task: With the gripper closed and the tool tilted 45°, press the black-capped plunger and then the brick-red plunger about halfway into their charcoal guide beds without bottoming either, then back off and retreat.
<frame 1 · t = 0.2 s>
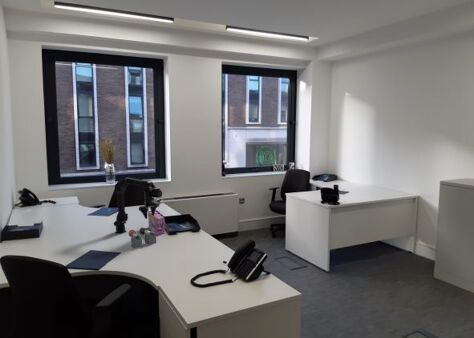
hand: (149, 217, 276), 15 cm above the table, tool pointing down, fingers open, 9 cm apart
bed B: (133, 243, 261), on the table
gum box: (156, 230, 292), on the table
bed A: (143, 240, 267), on the table
black plunger: (145, 232, 264), point 7 cm above the table, slide at 0.0 cm
red plunger: (133, 234, 258), point 7 cm above the table, slide at 0.0 cm
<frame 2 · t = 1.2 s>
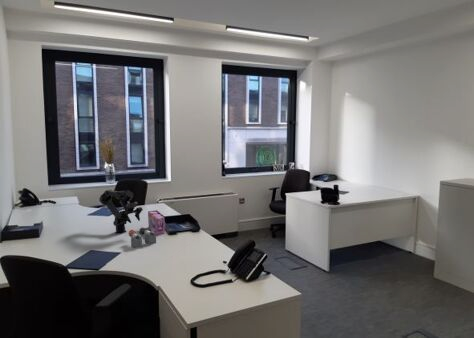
hand: (135, 221, 272), 12 cm above the table, tool tilted 45°, fingers open, 7 cm apart
nothing on the table moved.
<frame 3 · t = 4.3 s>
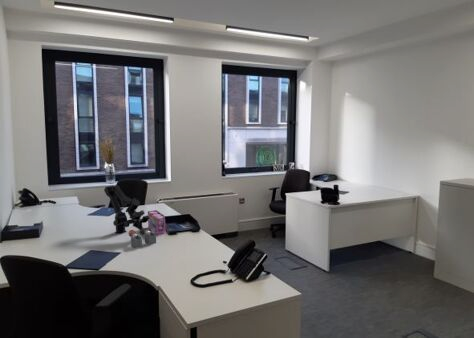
hand: (142, 230, 267), 7 cm above the table, tool tilted 45°, fingers closed, pressing on black plunger
black plunger: (146, 232, 264), point 7 cm above the table, slide at 0.3 cm, touching gripper
everything else where it was.
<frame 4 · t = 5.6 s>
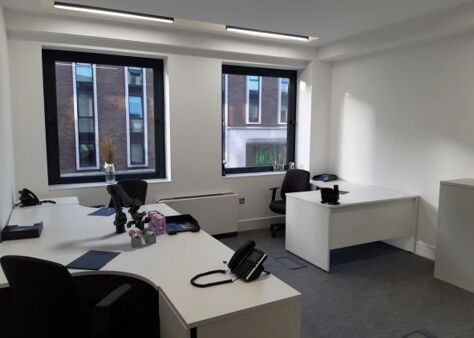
hand: (144, 231, 265), 7 cm above the table, tool tilted 45°, fingers closed
black plunger: (148, 232, 262), point 7 cm above the table, slide at 2.9 cm
everything else where it was.
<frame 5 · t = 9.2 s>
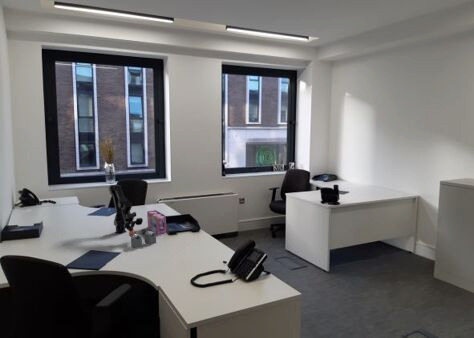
hand: (132, 233, 261), 7 cm above the table, tool tilted 45°, fingers closed, pressing on red plunger
red plunger: (134, 235, 257), point 7 cm above the table, slide at 0.9 cm, touching gripper
everything else where it was.
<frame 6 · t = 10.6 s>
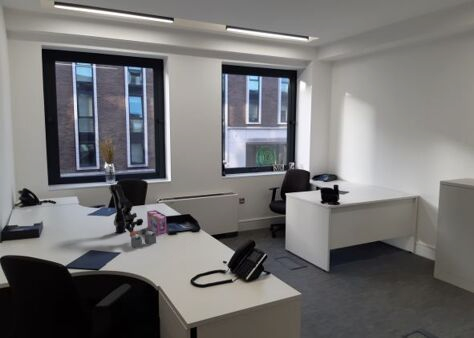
hand: (132, 233, 260), 7 cm above the table, tool tilted 45°, fingers closed
red plunger: (135, 235, 255), point 7 cm above the table, slide at 2.9 cm
everything else where it was.
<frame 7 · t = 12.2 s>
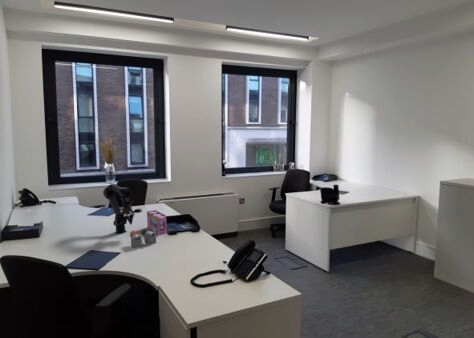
hand: (131, 224, 274), 10 cm above the table, tool tilted 20°, fingers closed
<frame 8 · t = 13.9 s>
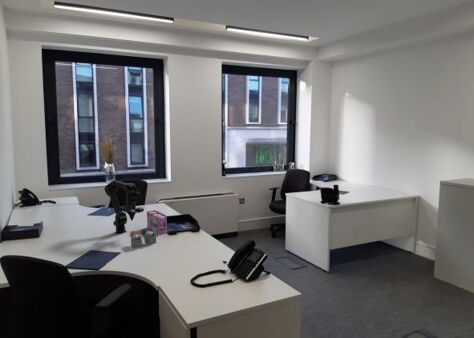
hand: (131, 220, 277), 12 cm above the table, tool pointing down, fingers closed
at the end: black plunger slide at 2.9 cm; red plunger slide at 2.9 cm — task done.
